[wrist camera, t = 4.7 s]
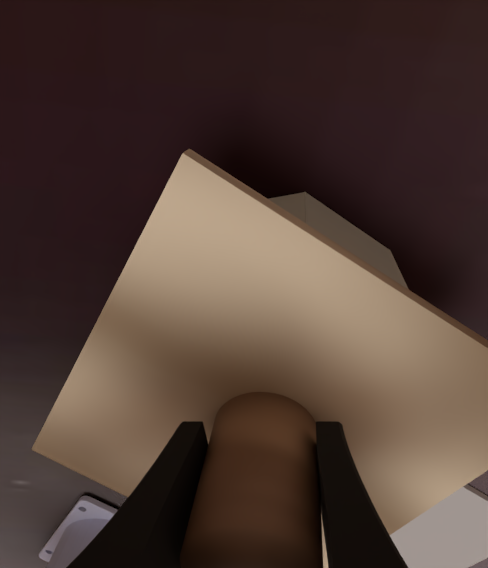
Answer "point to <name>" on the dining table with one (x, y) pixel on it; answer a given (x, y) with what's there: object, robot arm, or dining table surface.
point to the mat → (447, 533)
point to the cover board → (268, 376)
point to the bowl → (341, 232)
